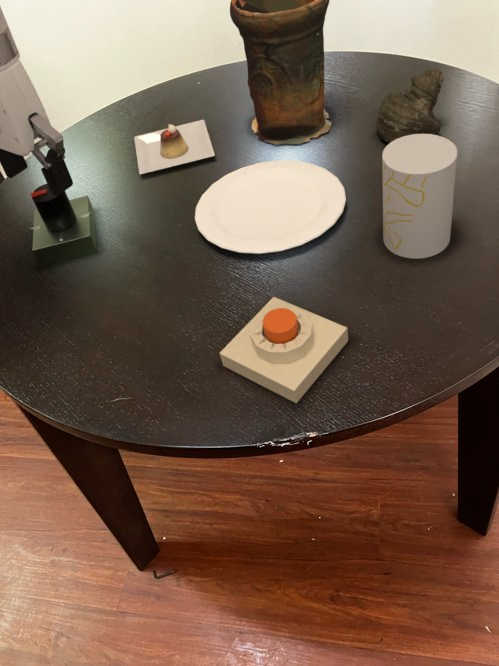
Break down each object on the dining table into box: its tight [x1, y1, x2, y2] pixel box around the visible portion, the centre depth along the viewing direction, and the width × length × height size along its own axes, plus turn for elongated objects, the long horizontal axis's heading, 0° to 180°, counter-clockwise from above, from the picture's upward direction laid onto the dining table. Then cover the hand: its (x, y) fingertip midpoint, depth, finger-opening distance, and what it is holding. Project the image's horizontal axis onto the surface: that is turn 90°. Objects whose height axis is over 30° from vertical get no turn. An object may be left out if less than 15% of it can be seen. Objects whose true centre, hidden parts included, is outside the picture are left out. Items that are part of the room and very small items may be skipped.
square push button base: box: [219, 296, 349, 404], centre depth 70 cm, size 10×10×4 cm
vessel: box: [229, 0, 332, 146], centre depth 98 cm, size 14×14×20 cm
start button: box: [263, 308, 298, 344], centre depth 68 cm, size 4×4×2 cm
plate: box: [194, 159, 347, 255], centre depth 89 cm, size 21×21×2 cm
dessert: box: [133, 119, 216, 175], centre depth 103 cm, size 12×12×5 cm
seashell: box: [375, 68, 444, 144], centre depth 94 cm, size 11×12×10 cm
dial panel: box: [30, 195, 98, 268], centre depth 92 cm, size 10×9×3 cm
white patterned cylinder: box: [381, 134, 458, 260], centre depth 77 cm, size 8×8×12 cm
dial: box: [30, 183, 76, 231], centre depth 89 cm, size 4×4×5 cm
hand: (40, 181), depth 85 cm, fingers open, 9 cm apart
